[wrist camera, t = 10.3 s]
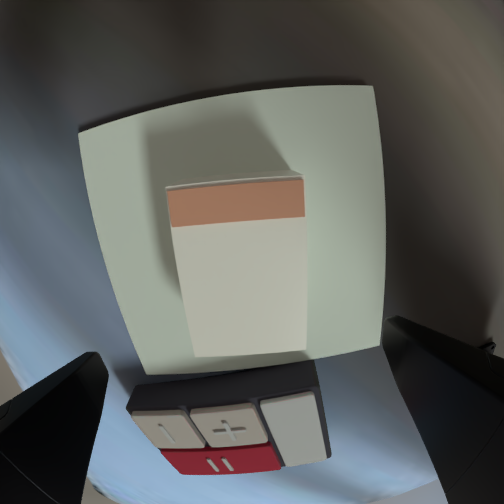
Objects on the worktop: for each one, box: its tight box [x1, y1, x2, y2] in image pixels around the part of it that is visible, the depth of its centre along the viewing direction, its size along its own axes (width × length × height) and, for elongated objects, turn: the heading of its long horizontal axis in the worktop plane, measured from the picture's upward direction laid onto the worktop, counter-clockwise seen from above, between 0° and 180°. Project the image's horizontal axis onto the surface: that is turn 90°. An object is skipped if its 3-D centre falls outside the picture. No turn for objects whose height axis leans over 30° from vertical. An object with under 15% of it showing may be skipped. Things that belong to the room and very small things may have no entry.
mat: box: [78, 85, 386, 375], centre depth 18 cm, size 18×18×1 cm
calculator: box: [126, 359, 331, 475], centre depth 22 cm, size 11×4×15 cm
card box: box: [165, 170, 307, 357], centre depth 15 cm, size 9×6×4 cm, turn 4°
